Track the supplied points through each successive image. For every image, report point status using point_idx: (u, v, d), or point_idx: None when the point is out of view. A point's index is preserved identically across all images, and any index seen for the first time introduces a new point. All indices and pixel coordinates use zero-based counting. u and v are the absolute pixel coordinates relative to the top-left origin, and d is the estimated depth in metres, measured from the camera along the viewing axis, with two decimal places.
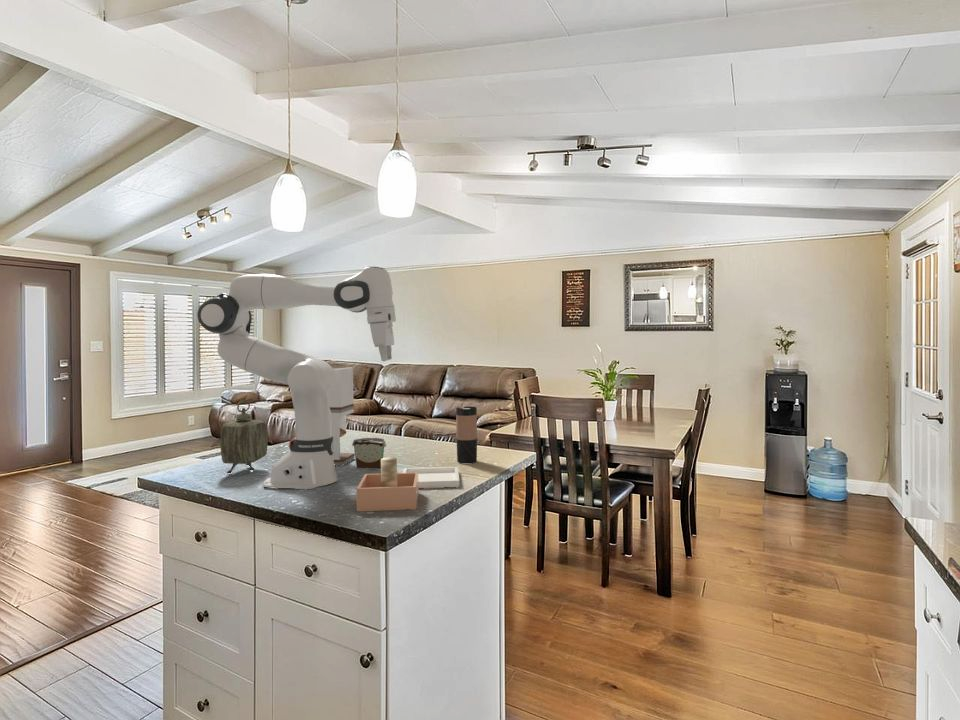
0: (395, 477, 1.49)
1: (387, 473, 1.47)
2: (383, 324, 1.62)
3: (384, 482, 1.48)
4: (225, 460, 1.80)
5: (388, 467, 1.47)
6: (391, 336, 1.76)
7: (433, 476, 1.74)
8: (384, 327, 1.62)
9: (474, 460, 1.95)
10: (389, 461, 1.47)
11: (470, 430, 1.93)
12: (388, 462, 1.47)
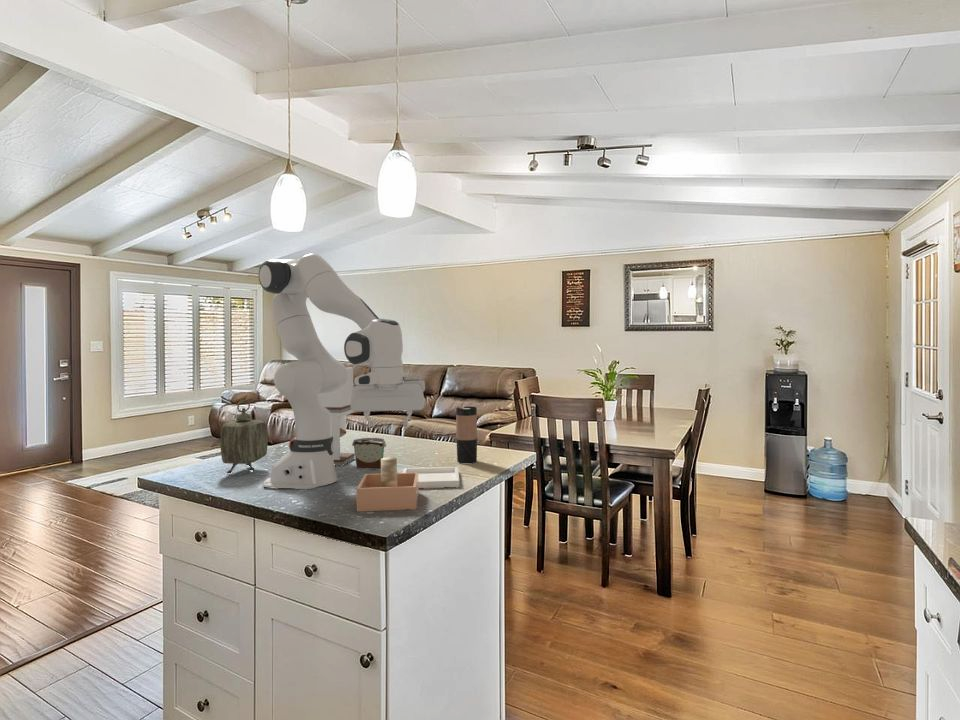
0: (395, 477, 1.49)
1: (387, 473, 1.47)
2: (353, 388, 1.46)
3: (384, 482, 1.48)
4: (225, 460, 1.80)
5: (388, 467, 1.47)
6: (403, 400, 1.47)
7: (433, 476, 1.74)
8: None
9: (474, 460, 1.95)
10: (389, 461, 1.47)
11: (470, 430, 1.93)
12: (388, 462, 1.47)
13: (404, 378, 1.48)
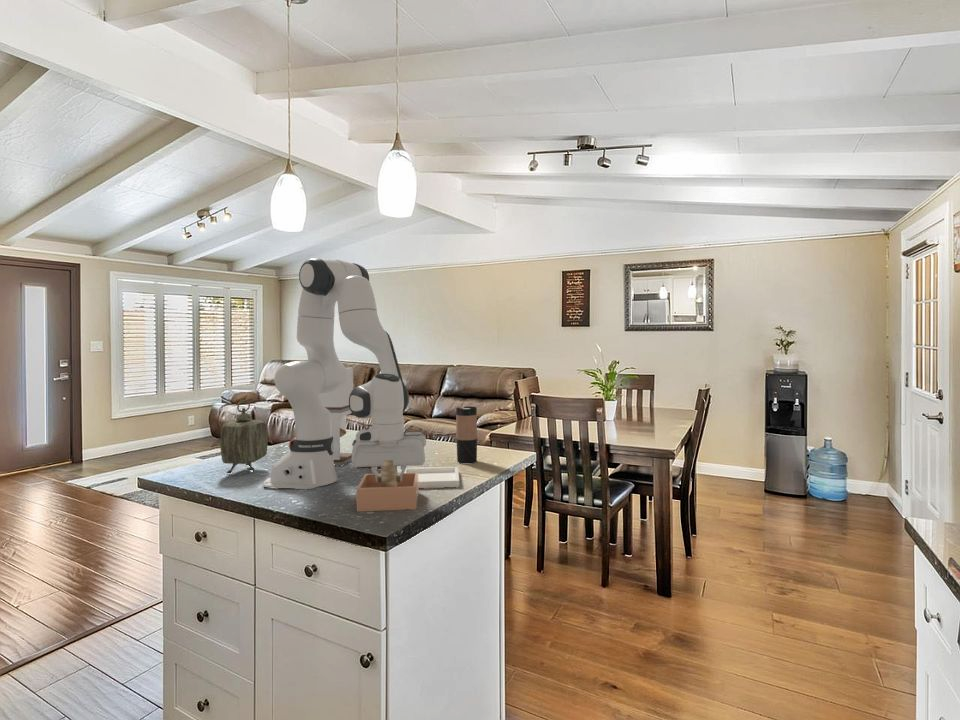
0: (395, 477, 1.49)
1: (387, 473, 1.47)
2: None
3: (384, 482, 1.48)
4: (225, 460, 1.80)
5: (388, 467, 1.47)
6: (404, 456, 1.48)
7: (433, 476, 1.74)
8: (353, 447, 1.47)
9: (474, 460, 1.95)
10: (389, 461, 1.47)
11: (470, 430, 1.93)
12: (388, 462, 1.47)
13: (405, 433, 1.49)
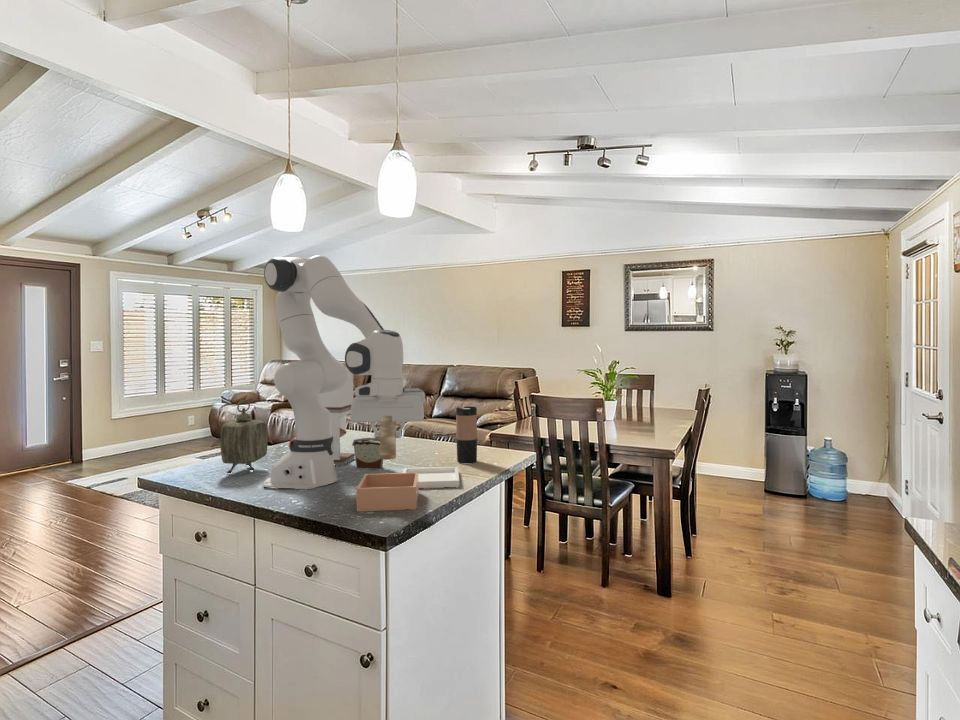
0: (394, 433, 1.48)
1: (385, 428, 1.47)
2: None
3: (382, 438, 1.47)
4: (225, 460, 1.80)
5: (387, 423, 1.47)
6: (403, 411, 1.47)
7: (433, 476, 1.74)
8: (352, 402, 1.46)
9: (474, 460, 1.95)
10: (388, 417, 1.47)
11: (470, 430, 1.93)
12: (387, 418, 1.47)
13: (404, 389, 1.48)
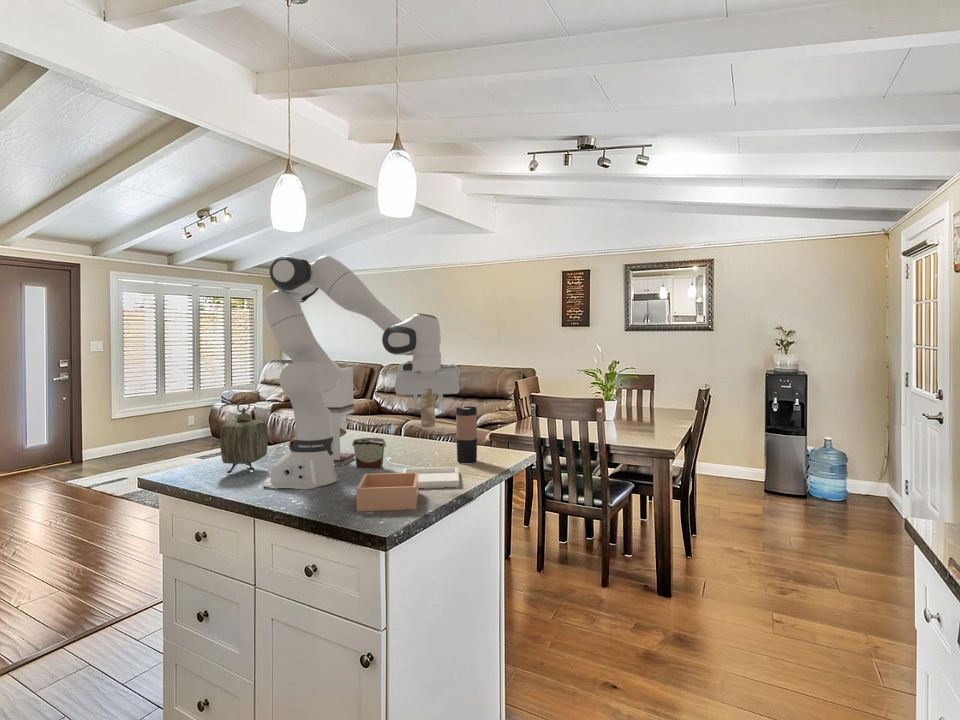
0: (433, 404, 1.68)
1: (426, 400, 1.67)
2: None
3: (423, 408, 1.68)
4: (225, 460, 1.80)
5: (427, 395, 1.67)
6: (441, 385, 1.68)
7: (433, 476, 1.74)
8: None
9: (474, 460, 1.95)
10: (428, 389, 1.67)
11: (470, 430, 1.93)
12: (427, 390, 1.67)
13: (442, 366, 1.69)
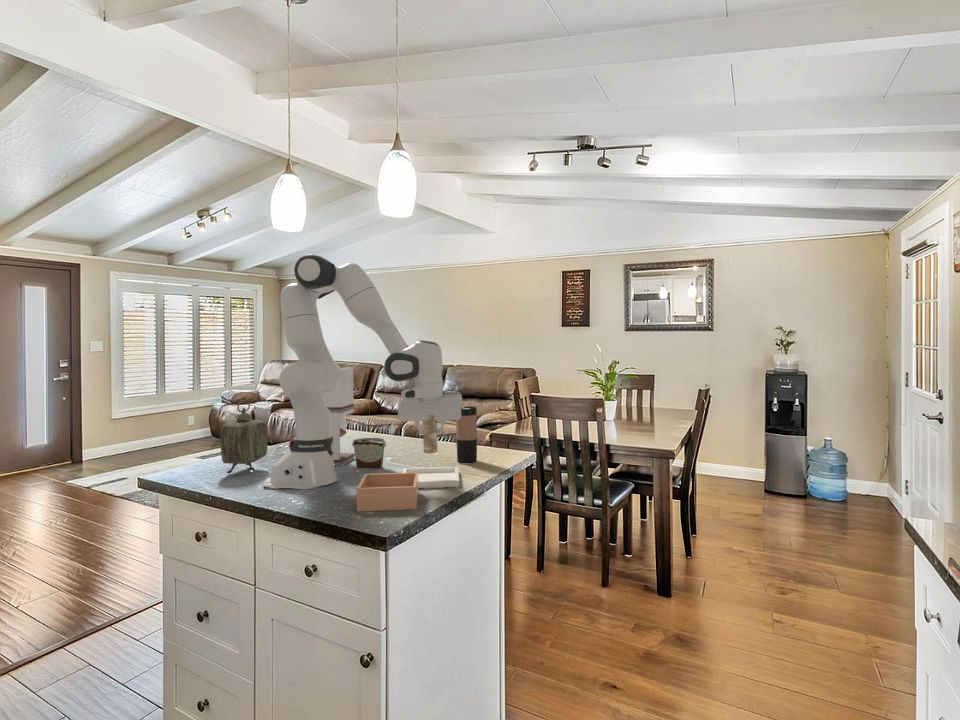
0: (435, 430, 1.70)
1: (428, 426, 1.69)
2: (400, 401, 1.68)
3: (426, 434, 1.69)
4: (225, 460, 1.80)
5: (430, 421, 1.68)
6: (443, 411, 1.69)
7: (433, 476, 1.74)
8: (399, 404, 1.68)
9: (474, 460, 1.95)
10: (430, 416, 1.69)
11: (470, 430, 1.93)
12: (430, 417, 1.68)
13: (444, 392, 1.70)
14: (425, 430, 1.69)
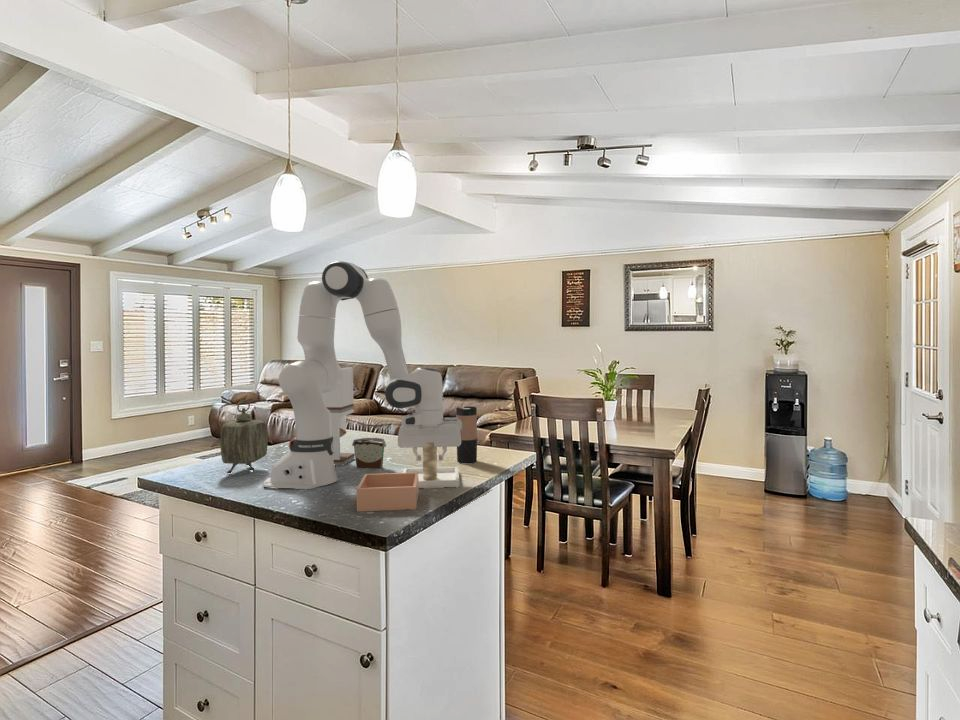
0: (435, 457, 1.70)
1: (428, 453, 1.69)
2: (400, 427, 1.68)
3: (425, 462, 1.69)
4: (225, 460, 1.80)
5: (430, 448, 1.69)
6: (443, 438, 1.69)
7: None
8: (399, 430, 1.68)
9: (474, 460, 1.95)
10: (430, 443, 1.69)
11: (470, 430, 1.93)
12: (429, 444, 1.69)
13: (444, 419, 1.71)
14: (425, 457, 1.69)
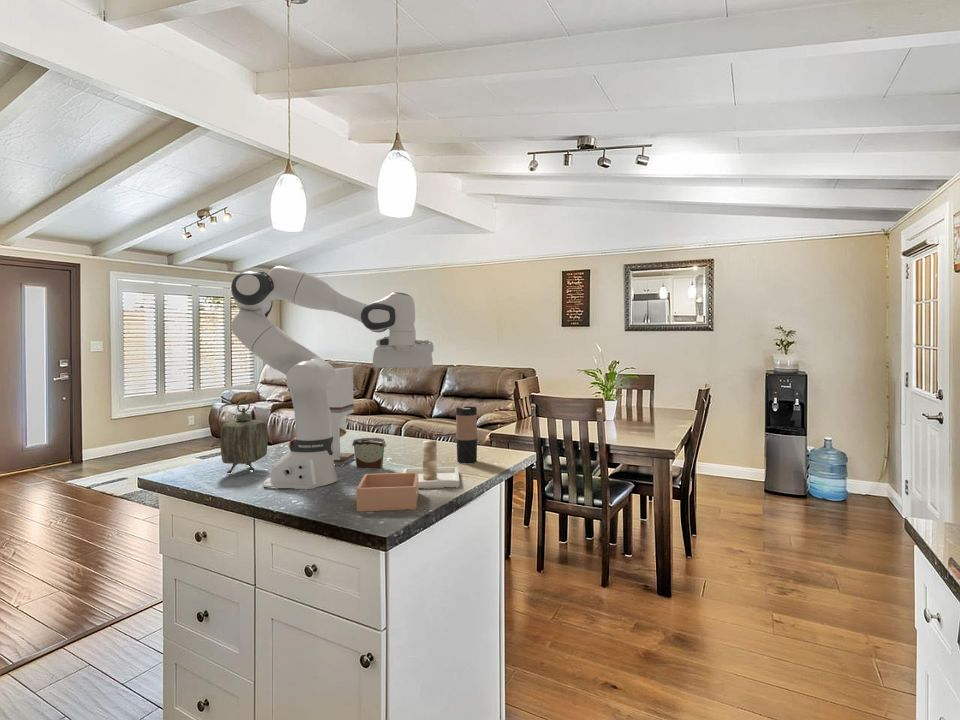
0: (435, 457, 1.70)
1: (428, 453, 1.69)
2: (375, 348, 1.80)
3: (425, 462, 1.69)
4: (225, 460, 1.80)
5: (429, 448, 1.69)
6: (415, 359, 1.81)
7: None
8: (374, 351, 1.80)
9: (474, 460, 1.95)
10: (430, 443, 1.69)
11: (470, 430, 1.93)
12: (429, 444, 1.69)
13: (416, 341, 1.82)
14: (425, 457, 1.69)
